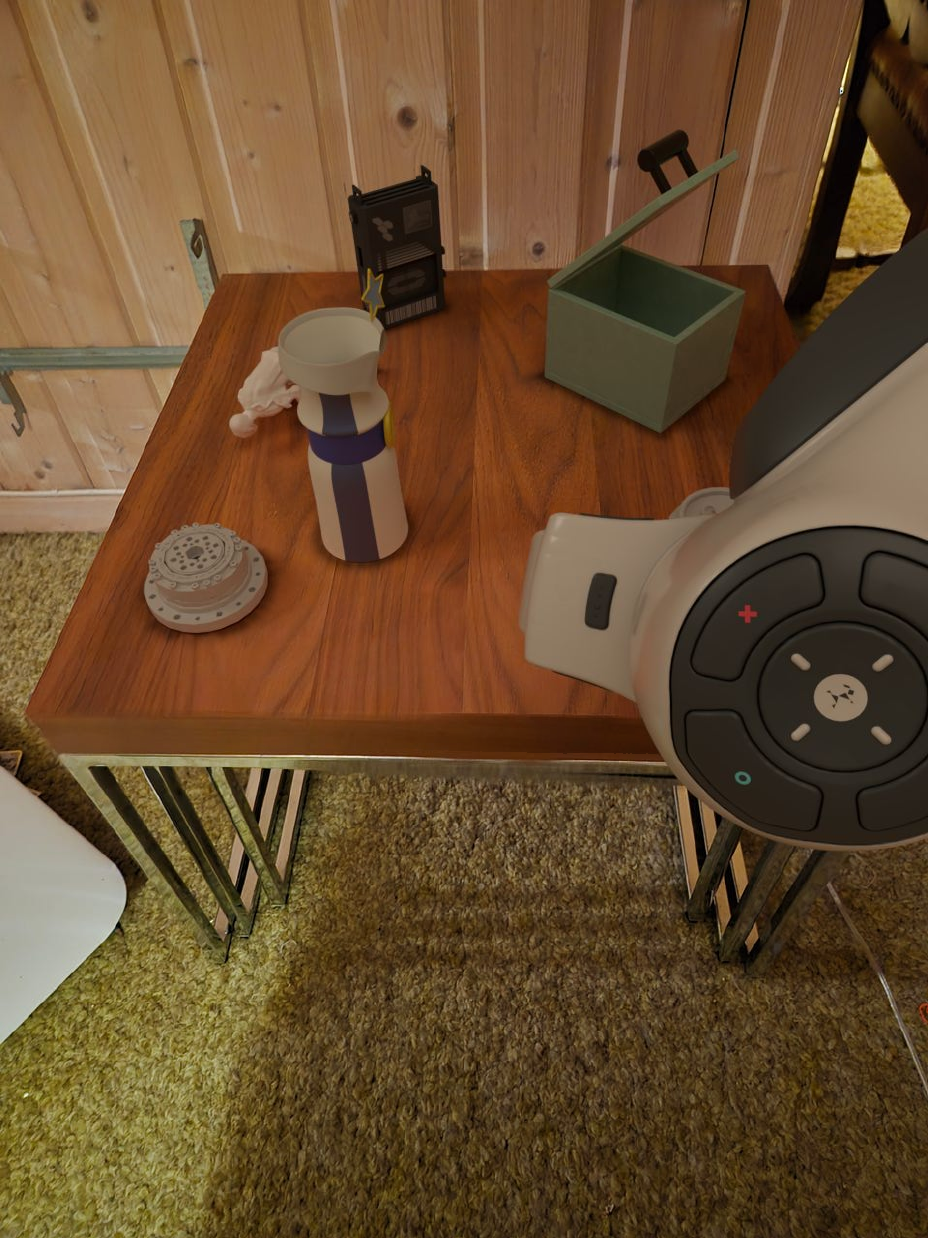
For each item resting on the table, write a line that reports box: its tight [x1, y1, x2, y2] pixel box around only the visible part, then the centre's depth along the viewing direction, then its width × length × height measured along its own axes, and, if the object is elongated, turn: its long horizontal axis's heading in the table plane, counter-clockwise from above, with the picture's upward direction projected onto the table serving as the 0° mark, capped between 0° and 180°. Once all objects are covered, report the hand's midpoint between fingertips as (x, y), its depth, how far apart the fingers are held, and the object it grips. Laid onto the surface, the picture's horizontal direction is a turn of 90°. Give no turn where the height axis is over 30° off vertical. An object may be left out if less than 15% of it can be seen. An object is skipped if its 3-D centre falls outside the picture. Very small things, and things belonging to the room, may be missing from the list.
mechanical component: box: [143, 522, 269, 634], centre depth 69 cm, size 10×4×10 cm
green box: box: [544, 243, 747, 434], centre depth 83 cm, size 15×12×10 cm
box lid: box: [546, 129, 740, 289], centre depth 75 cm, size 15×12×5 cm
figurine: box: [228, 345, 302, 439], centre depth 84 cm, size 7×8×18 cm
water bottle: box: [277, 269, 409, 564], centre depth 65 cm, size 8×9×25 cm
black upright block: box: [347, 164, 447, 331], centre depth 91 cm, size 10×5×15 cm, turn 120°
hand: (722, 605), depth 46 cm, fingers open, 8 cm apart
